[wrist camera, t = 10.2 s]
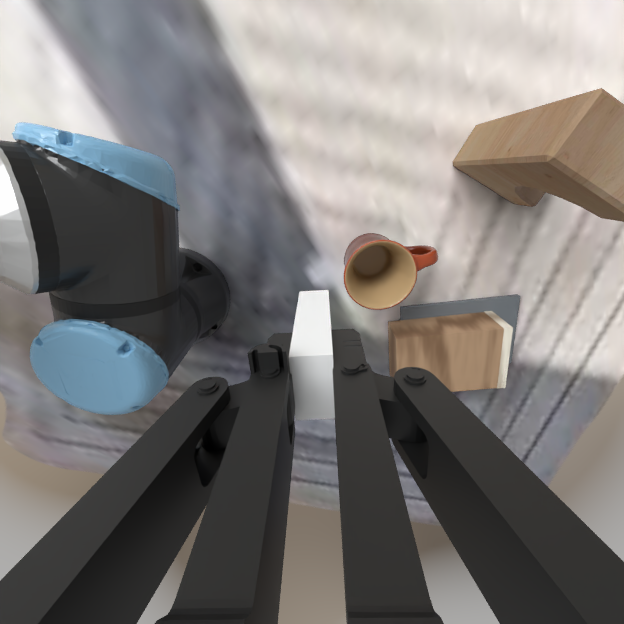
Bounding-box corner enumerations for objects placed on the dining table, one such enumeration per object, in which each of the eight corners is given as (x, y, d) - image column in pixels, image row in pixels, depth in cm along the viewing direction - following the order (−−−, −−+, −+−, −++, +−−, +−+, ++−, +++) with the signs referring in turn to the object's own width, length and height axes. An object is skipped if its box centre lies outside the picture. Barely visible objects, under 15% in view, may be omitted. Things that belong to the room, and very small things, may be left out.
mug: (347, 290, 51) (353, 317, 41) (332, 236, 48) (335, 252, 38) (424, 269, 49) (449, 292, 40) (414, 211, 46) (438, 221, 37)
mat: (401, 370, 56) (402, 373, 56) (400, 306, 52) (401, 308, 51) (508, 360, 55) (511, 363, 55) (517, 294, 51) (520, 296, 50)
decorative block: (542, 167, 44) (707, 163, 25) (513, 206, 46) (645, 229, 27) (477, 121, 42) (604, 81, 23) (449, 164, 44) (545, 158, 25)
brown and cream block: (397, 396, 50) (505, 387, 49) (396, 339, 46) (513, 327, 45) (389, 374, 56) (486, 365, 55) (387, 321, 52) (491, 310, 51)
